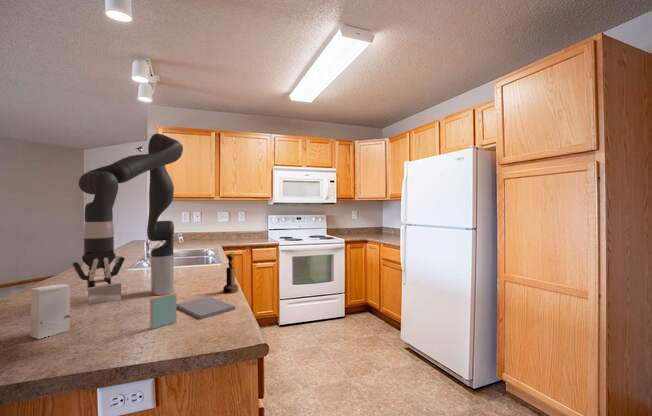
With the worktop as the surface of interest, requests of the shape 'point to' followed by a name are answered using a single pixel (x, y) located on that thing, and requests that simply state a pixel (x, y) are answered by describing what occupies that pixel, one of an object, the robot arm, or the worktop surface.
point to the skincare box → (50, 310)
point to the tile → (162, 310)
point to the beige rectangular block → (103, 291)
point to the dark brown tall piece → (230, 276)
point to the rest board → (205, 307)
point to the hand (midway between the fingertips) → (99, 290)
